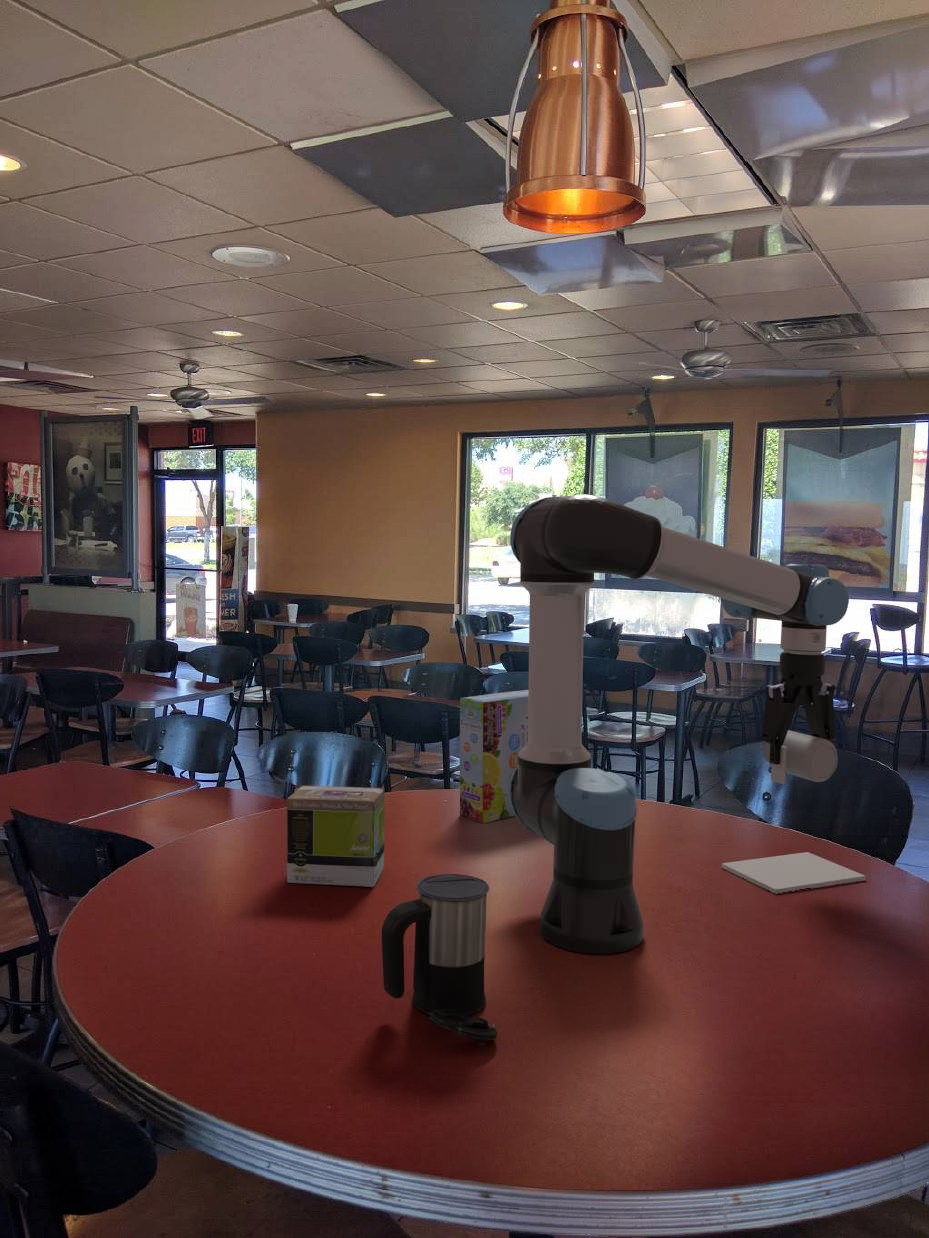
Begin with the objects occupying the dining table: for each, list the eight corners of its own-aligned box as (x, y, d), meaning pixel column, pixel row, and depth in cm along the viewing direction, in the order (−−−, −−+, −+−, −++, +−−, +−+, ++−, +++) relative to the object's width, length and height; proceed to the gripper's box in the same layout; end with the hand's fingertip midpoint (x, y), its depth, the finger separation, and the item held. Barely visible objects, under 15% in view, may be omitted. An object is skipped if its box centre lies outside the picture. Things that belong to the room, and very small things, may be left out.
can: (814, 791, 161) (766, 775, 172) (846, 770, 163) (796, 756, 174) (802, 752, 159) (754, 739, 170) (834, 732, 162) (785, 720, 173)
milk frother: (447, 977, 124) (449, 867, 123) (544, 1018, 114) (548, 898, 113) (368, 1016, 114) (370, 895, 112) (467, 1064, 103) (470, 932, 102)
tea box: (384, 869, 166) (386, 786, 165) (373, 889, 156) (375, 801, 155) (301, 864, 168) (302, 782, 167) (284, 884, 158) (285, 796, 157)
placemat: (775, 893, 158) (775, 889, 158) (721, 867, 171) (721, 863, 171) (865, 880, 166) (865, 875, 166) (807, 856, 179) (807, 852, 179)
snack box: (529, 799, 216) (532, 687, 214) (556, 808, 209) (560, 692, 207) (455, 815, 202) (458, 695, 200) (482, 824, 195) (485, 700, 193)
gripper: (771, 655, 158) (765, 789, 160) (862, 653, 167) (855, 781, 168) (742, 650, 165) (735, 779, 167) (830, 649, 173) (824, 772, 175)
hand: (795, 780), depth 167 cm, fingers closed on can, 7 cm apart
